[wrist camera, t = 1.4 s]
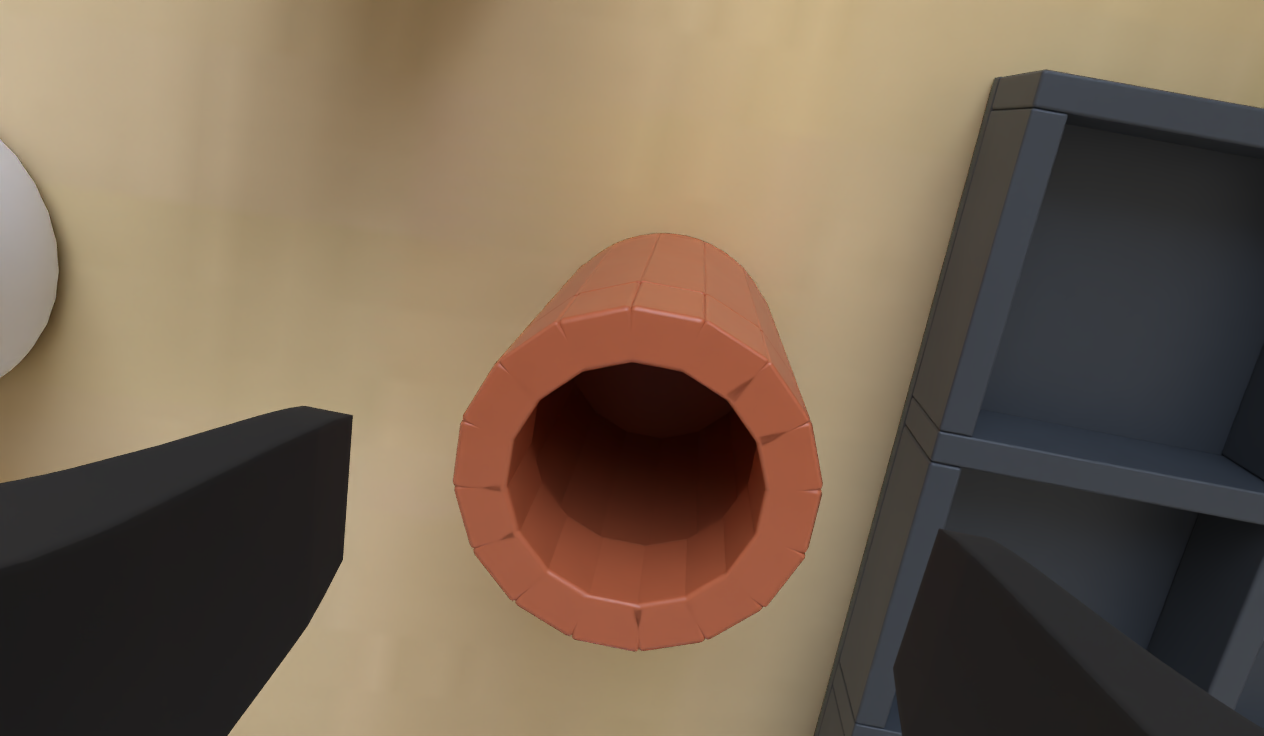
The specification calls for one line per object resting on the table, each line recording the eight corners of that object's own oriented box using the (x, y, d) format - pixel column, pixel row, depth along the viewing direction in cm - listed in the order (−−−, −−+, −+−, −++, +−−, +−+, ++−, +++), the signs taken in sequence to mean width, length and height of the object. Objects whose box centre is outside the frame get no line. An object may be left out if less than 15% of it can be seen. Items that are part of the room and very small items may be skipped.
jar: (746, 462, 22) (775, 681, 13) (540, 422, 22) (434, 613, 13) (793, 255, 20) (861, 348, 12) (572, 214, 21) (478, 276, 12)
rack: (1304, 1002, 25) (1380, 1113, 22) (770, 891, 25) (779, 987, 22) (1703, 205, 19) (1879, 218, 16) (993, 77, 19) (1043, 68, 16)
